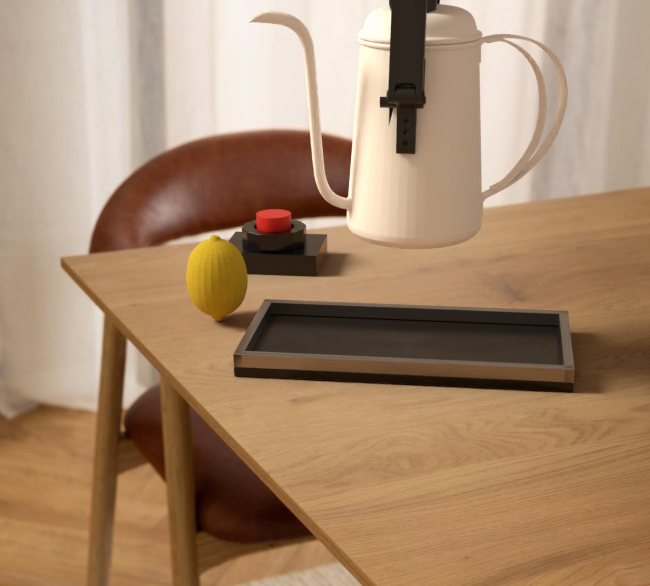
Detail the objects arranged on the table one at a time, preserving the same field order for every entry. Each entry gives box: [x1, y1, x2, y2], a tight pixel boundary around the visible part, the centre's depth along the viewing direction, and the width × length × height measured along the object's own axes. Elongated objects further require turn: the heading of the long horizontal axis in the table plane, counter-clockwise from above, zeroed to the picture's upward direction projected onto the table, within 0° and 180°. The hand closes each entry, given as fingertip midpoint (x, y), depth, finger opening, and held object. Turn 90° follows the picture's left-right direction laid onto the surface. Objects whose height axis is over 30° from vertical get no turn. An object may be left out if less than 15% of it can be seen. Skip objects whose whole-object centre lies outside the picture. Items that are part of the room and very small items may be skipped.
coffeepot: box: [247, 3, 569, 250], centre depth 91 cm, size 11×25×19 cm, turn 102°
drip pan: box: [232, 298, 576, 393], centre depth 101 cm, size 27×14×2 cm, turn 82°
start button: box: [255, 208, 292, 232], centre depth 122 cm, size 4×4×2 cm
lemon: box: [185, 234, 249, 322], centre depth 107 cm, size 6×6×8 cm
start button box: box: [228, 218, 328, 278], centre depth 123 cm, size 10×8×4 cm
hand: (410, 180), depth 94 cm, fingers closed on coffeepot, 9 cm apart
